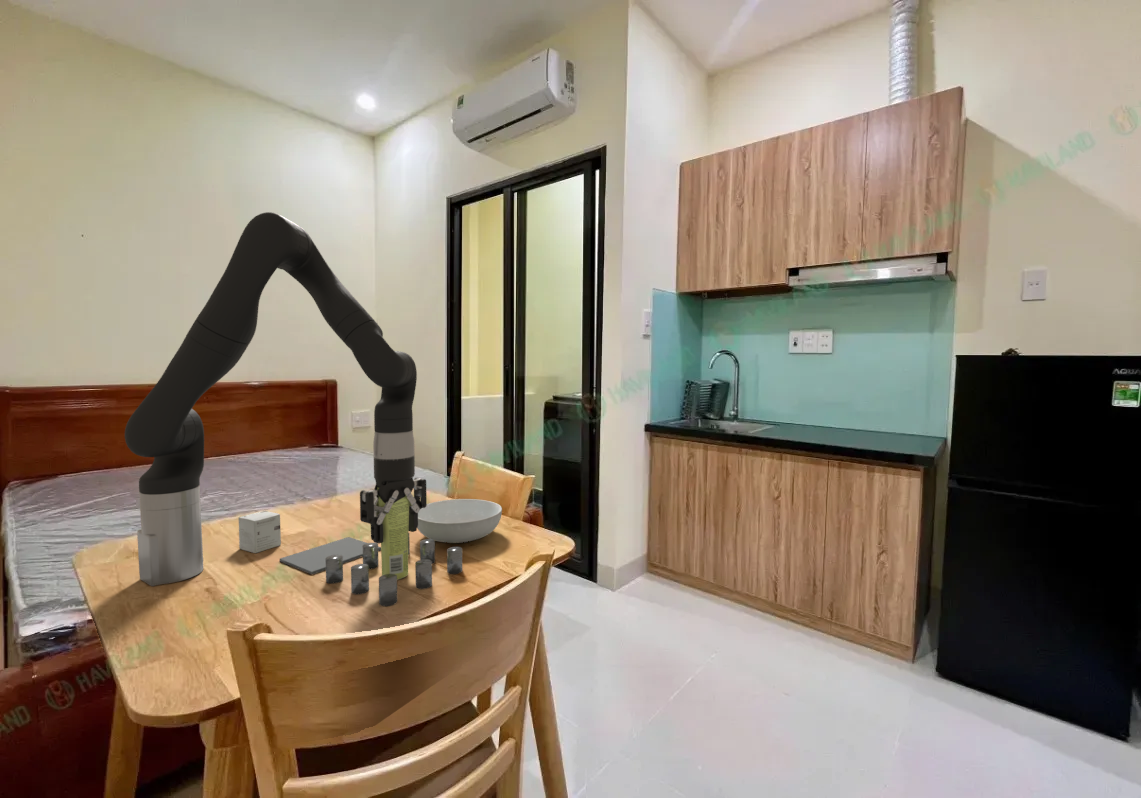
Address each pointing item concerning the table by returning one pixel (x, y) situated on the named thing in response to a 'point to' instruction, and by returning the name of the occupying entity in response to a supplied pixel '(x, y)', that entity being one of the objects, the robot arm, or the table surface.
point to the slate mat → (325, 555)
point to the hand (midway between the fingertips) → (395, 536)
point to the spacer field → (390, 580)
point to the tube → (395, 539)
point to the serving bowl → (458, 519)
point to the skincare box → (259, 531)
